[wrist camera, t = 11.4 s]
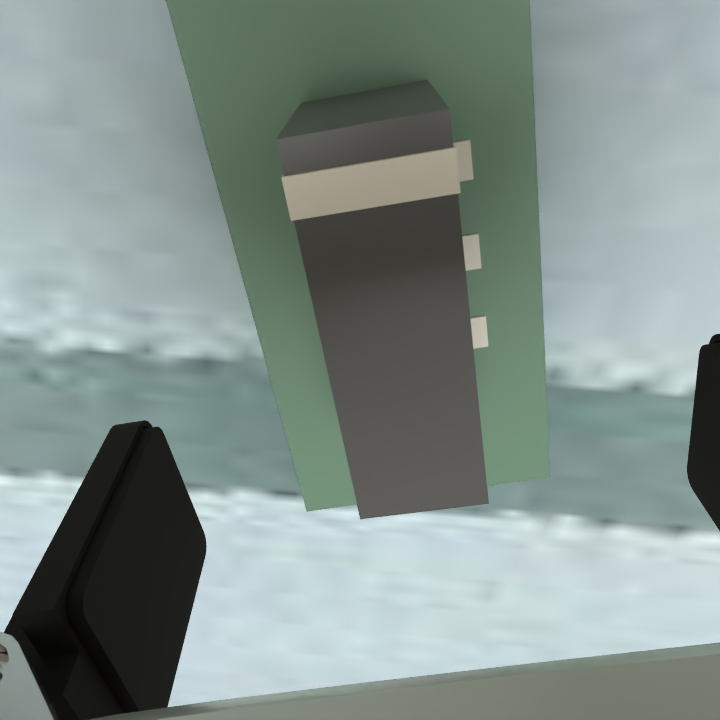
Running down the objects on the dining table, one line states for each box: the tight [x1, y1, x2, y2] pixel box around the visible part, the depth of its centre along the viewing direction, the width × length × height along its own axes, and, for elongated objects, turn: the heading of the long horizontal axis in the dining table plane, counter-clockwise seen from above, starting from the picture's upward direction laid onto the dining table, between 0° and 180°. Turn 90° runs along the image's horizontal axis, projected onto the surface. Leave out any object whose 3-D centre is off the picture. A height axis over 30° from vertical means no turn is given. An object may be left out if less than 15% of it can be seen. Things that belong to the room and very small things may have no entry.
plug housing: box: [276, 80, 489, 519], centre depth 19 cm, size 11×4×6 cm, turn 10°
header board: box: [166, 0, 550, 511], centre depth 21 cm, size 20×10×6 cm, turn 10°
